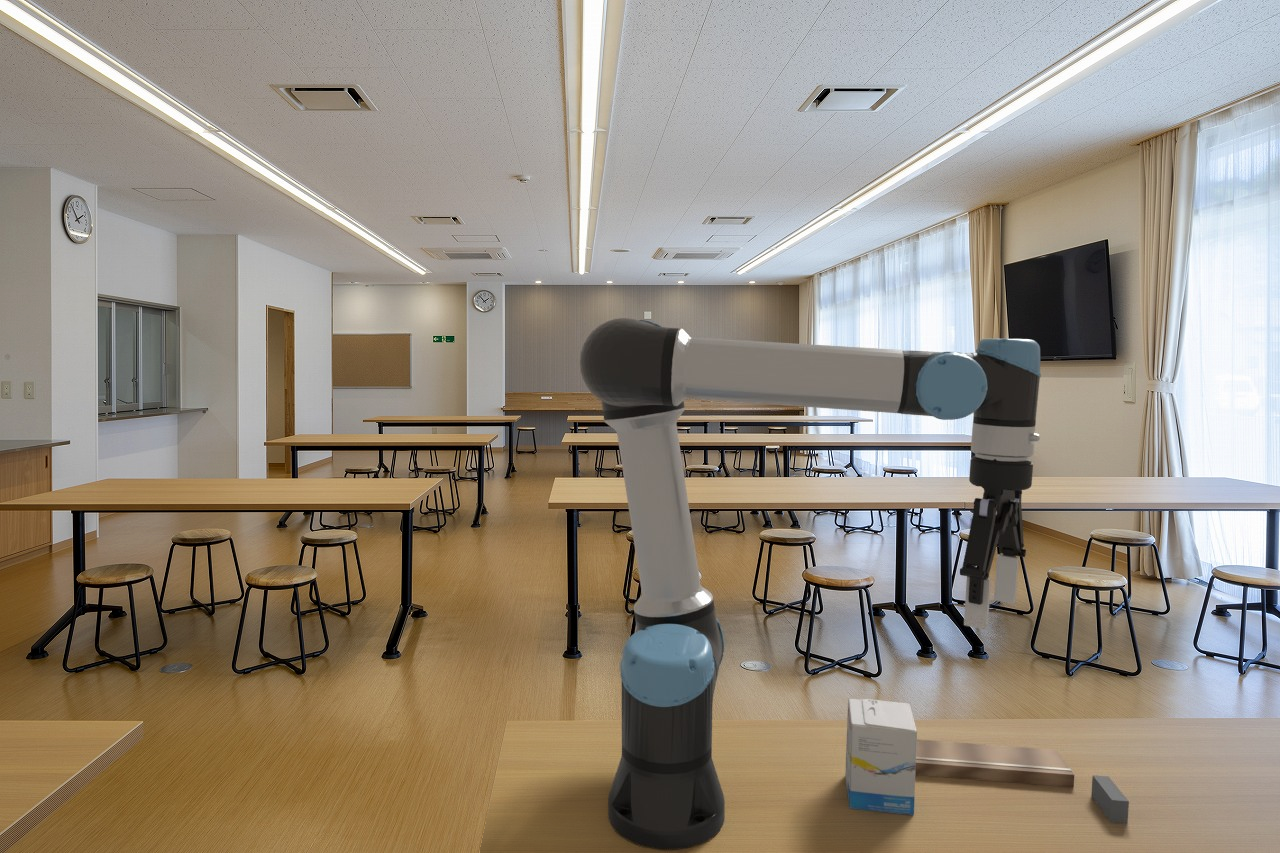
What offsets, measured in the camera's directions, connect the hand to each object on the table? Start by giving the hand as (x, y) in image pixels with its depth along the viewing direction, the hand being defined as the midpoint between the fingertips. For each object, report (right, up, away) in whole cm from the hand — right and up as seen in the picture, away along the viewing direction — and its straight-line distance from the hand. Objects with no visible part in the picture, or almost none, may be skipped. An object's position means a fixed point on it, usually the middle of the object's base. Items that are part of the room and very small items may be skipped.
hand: (990, 614), depth 106 cm
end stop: (+15, -25, -2) cm, 29 cm away
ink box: (-15, -25, +2) cm, 29 cm away
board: (+1, -24, +9) cm, 26 cm away
